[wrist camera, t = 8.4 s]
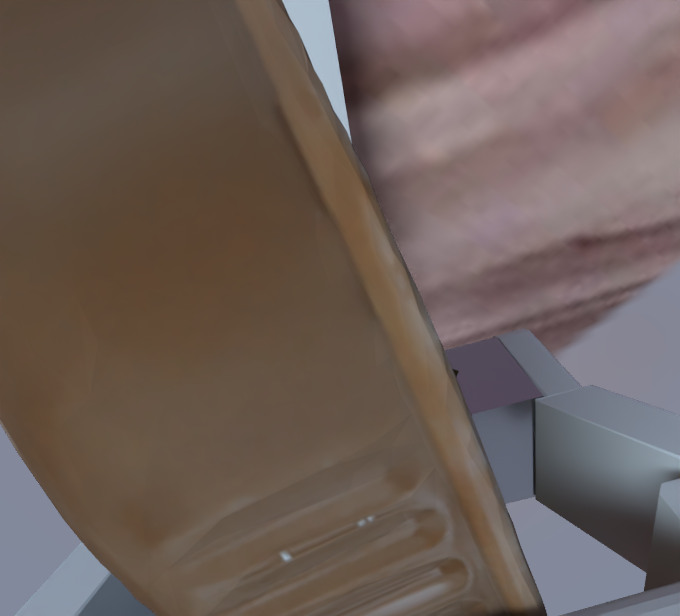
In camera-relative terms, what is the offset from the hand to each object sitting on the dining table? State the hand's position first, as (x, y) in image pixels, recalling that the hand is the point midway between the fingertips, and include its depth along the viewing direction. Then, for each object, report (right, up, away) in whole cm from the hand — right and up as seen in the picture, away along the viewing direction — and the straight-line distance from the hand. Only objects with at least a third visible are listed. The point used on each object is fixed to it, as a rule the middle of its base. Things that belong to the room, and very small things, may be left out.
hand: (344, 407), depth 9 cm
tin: (-1, +1, +4) cm, 4 cm away
